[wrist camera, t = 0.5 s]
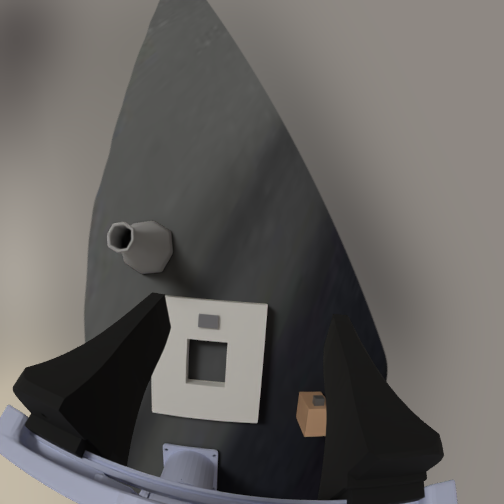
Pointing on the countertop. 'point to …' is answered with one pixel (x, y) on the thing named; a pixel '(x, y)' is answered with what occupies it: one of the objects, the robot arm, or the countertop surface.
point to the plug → (312, 413)
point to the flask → (142, 245)
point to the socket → (237, 365)
